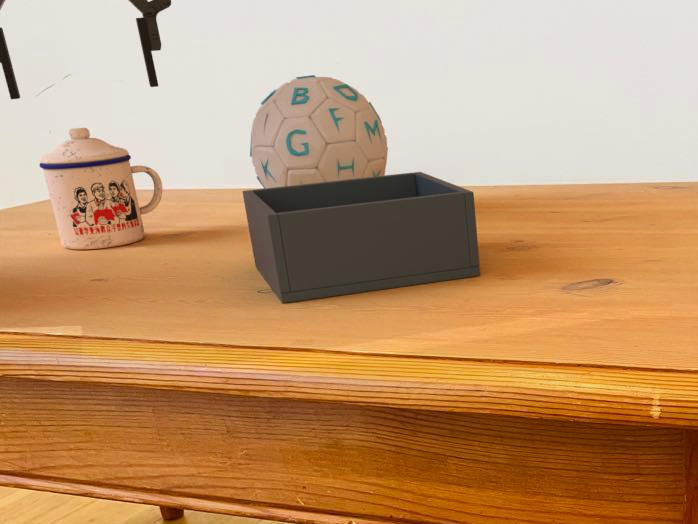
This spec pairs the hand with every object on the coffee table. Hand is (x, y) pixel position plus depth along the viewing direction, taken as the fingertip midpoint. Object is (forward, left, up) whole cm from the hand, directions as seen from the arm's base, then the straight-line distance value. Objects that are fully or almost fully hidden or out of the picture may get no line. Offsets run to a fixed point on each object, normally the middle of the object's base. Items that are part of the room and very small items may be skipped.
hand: (86, 92), depth 111 cm
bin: (+20, -34, -15) cm, 42 cm away
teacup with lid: (0, 0, -15) cm, 15 cm away
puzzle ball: (+23, -2, -15) cm, 28 cm away
